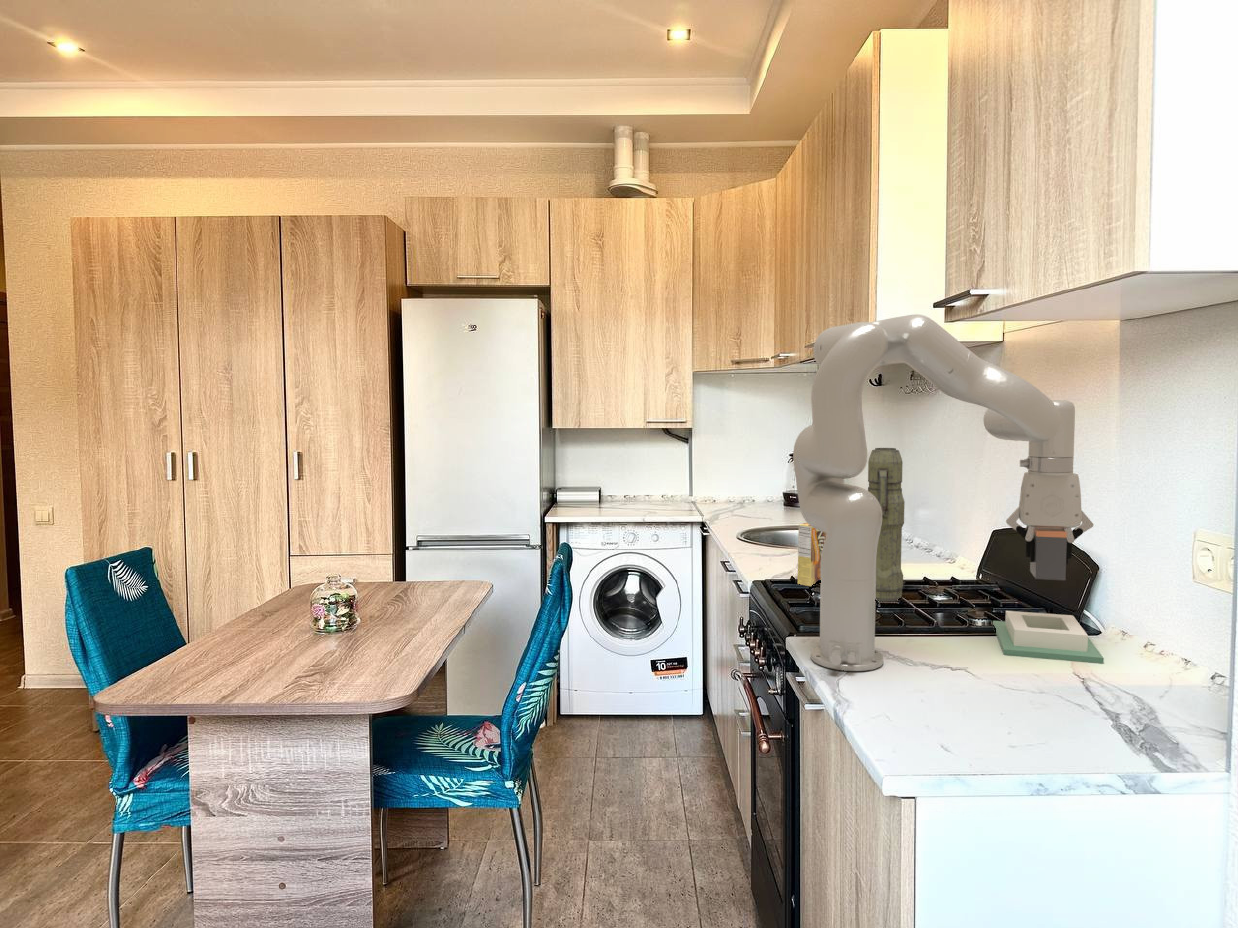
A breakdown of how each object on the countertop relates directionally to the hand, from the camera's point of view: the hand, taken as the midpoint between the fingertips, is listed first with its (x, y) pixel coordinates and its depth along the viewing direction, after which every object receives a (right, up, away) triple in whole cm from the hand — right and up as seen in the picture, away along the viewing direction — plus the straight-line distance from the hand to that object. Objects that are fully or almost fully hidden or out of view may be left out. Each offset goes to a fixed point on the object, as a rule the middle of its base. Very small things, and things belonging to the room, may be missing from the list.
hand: (1047, 560), depth 155 cm
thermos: (-19, -13, +37) cm, 44 cm away
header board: (0, -16, +1) cm, 16 cm away
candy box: (-32, -12, +52) cm, 63 cm away
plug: (0, -3, 0) cm, 3 cm away
